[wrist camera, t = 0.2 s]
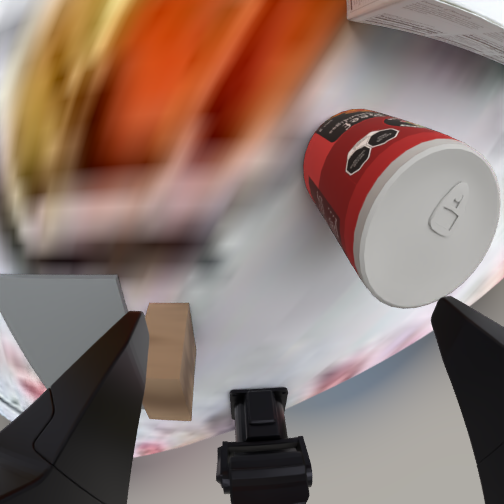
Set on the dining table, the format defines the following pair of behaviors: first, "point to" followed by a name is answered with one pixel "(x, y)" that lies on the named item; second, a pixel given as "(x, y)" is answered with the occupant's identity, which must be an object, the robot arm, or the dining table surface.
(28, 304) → the mat
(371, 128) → the canned food
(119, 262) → the dining table surface
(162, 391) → the block
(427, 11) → the supplement box
